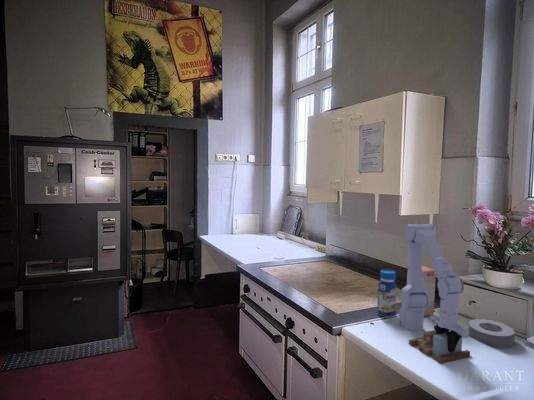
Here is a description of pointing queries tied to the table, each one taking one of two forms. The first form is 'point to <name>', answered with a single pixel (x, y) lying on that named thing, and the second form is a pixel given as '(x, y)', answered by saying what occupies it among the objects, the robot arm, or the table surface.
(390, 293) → the beverage bottle
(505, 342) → the tape roll
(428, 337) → the offcut short
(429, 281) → the cracker box
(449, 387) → the table surface
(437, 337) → the blue-grey rectangular block
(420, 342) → the block
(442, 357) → the rack
